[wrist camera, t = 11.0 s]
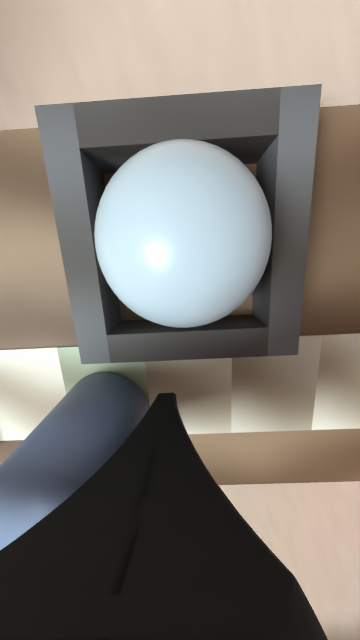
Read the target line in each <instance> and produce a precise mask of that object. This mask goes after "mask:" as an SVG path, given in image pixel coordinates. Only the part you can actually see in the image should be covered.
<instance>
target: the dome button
mask: <svg viewBox="0 0 360 640" xmlns="http://www.w3.org/2000/svg"><path fill="white" fill-rule="evenodd" d="M94 237H95V248H96V253H97V258H98V262H99V265H100V268H101V271H102V273H103V275H104V277H105V279H106V281H107V283H108V284H109V286H110V287H111V289H112V291H113V292H114V293H115V294H116V296H117V297H118V298H119V299H120V300H121V301H122V302H123V303H124V304H125V305H126V306H127V307H128V308H129V309H131V310H132V311H133V312H135V313H136V314H138V315H139V316H141V317H143V318H145V319H147V320H149V321H151V322H154V323H157V324H160V325H164V326H169V327H176V328H189V327H197V326H202V325H206V324H209V323H212V322H214V321H217V320H219V319H221V318H223V317H225V316H227V315H228V314H230V313H231V312H232V311H234V310H235V309H237V308H238V307H239V306H240V305H241V304H242V303H243V302H244V301H245V300H246V299H247V298H248V297H249V296H250V294H251V293H252V292H253V290H254V289H255V287H256V286H257V285H258V283H259V281H260V279H261V277H262V275H263V273H264V271H265V268H266V265H267V263H268V259H269V255H270V250H271V242H272V223H271V216H270V211H269V207H268V203H267V200H266V197H265V195H264V193H263V190H262V188H261V186H260V185H259V183H258V181H257V180H256V178H255V177H254V175H253V174H252V173H251V172H250V170H249V169H248V168H247V167H246V166H245V165H244V164H243V163H242V162H241V161H240V160H239V159H238V158H236V157H235V156H234V155H232V154H231V153H229V152H228V151H226V150H224V149H222V148H220V147H218V146H216V145H213V144H210V143H207V142H204V141H199V140H193V139H175V140H168V141H163V142H160V143H157V144H154V145H151V146H149V147H147V148H145V149H143V150H141V151H139V152H138V153H136V154H135V155H134V156H132V157H131V158H129V159H128V160H127V161H126V162H125V163H124V164H123V165H122V166H121V167H120V168H119V169H118V170H117V172H116V173H115V174H114V175H113V176H112V178H111V180H110V181H109V183H108V184H107V186H106V188H105V190H104V192H103V195H102V197H101V199H100V202H99V206H98V209H97V214H96V220H95V232H94Z"/></svg>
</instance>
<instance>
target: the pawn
mask: <svg viewBox="0 0 360 640" xmlns="http://www.w3.org/2000/svg"><path fill="white" fill-rule="evenodd" d="M148 409H149V404H148V401H147V398H146V396H145V394H144V393H143V391H142V390H141V389H140V387H139V386H138V385H136V384H135V383H134V382H133V381H131V380H130V379H128V378H126V377H124V376H122V375H119V374H116V373H111V372H98V373H93V374H90V375H88V376H86V377H84V378H82V379H81V380H80V381H79V382H77V383H76V385H75V386H74V387H73V388H72V389H71V390H70V391H69V392H68V393H67V394H66V395H65V396H64V397H63V399H62V400H61V401H60V402H59V403H58V404H57V405H56V406H55V407H54V408H53V409H52V410H51V411H50V413H49V414H48V415H47V416H46V417H45V418H44V419H43V420H42V421H41V422H40V423H39V424H38V425H37V427H36V428H35V429H34V430H33V431H32V432H31V433H30V434H29V435H28V436H27V437H26V438H25V440H24V441H23V442H22V443H21V444H20V445H19V446H18V447H17V448H16V449H15V450H14V451H13V452H12V454H11V455H10V456H9V457H8V458H7V459H6V460H5V461H4V462H3V463H2V464H1V465H0V550H1V549H3V548H4V547H6V546H7V545H9V544H10V543H11V542H13V541H14V540H15V539H17V538H18V537H19V536H21V535H22V534H23V533H25V532H26V531H27V530H29V529H30V528H31V527H32V526H34V525H35V524H36V523H38V522H39V521H40V520H41V519H43V518H44V517H45V516H47V515H48V514H49V513H50V512H51V511H53V510H54V509H55V508H56V507H58V506H59V505H60V504H61V503H62V502H64V501H65V500H66V499H67V498H68V497H69V496H71V495H72V494H73V493H74V492H75V491H76V490H77V489H78V488H79V487H80V486H82V485H83V484H84V483H85V482H86V481H87V480H88V479H89V478H90V477H91V476H92V475H93V474H95V473H96V472H97V471H98V470H99V469H100V468H101V467H102V466H103V464H104V463H105V462H106V461H107V460H108V459H109V458H110V457H111V456H112V455H113V454H114V453H115V452H116V451H117V449H118V448H119V447H120V446H121V445H122V444H123V442H124V441H125V440H126V439H127V437H128V436H129V435H130V434H131V433H132V431H133V430H134V429H135V427H136V426H137V425H138V423H139V422H140V421H141V419H142V418H143V416H144V415H145V414H146V412H147V411H148Z"/></svg>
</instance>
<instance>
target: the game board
mask: <svg viewBox="0 0 360 640" xmlns="http://www.w3.org/2000/svg"><path fill="white" fill-rule="evenodd" d="M321 86H322V84H317V85H304V86H290V87H277V88H264V89H251V90H237V91H224V92H211V93H198V94H184V95H171V96H158V97H145V98H131V99H118V100H105V101H92V102H78V103H65V104H52V105H39V106H35V111H36V117H37V122H38V128H31V129H17V130H3V131H0V465H1V464H2V463H3V462H4V461H5V460H6V459H7V458H8V457H9V456H10V455H11V454H12V452H13V451H14V450H15V449H16V448H17V447H18V446H19V445H20V444H21V443H22V442H23V441H24V440H25V438H26V437H27V436H28V435H29V434H30V433H31V432H32V431H33V430H34V429H35V428H36V427H37V425H38V424H39V423H40V422H41V421H42V420H43V419H44V418H45V417H46V416H47V415H48V414H49V413H50V411H51V410H52V409H53V408H54V407H55V406H56V405H57V404H58V403H59V402H60V401H61V400H62V399H63V397H64V396H65V395H66V394H67V393H68V392H69V391H70V390H71V389H72V388H73V387H74V386H75V385H76V383H77V382H79V381H80V380H81V379H82V378H84V377H86V376H88V375H90V374H93V373H98V372H111V373H116V374H119V375H122V376H124V377H126V378H128V379H130V380H131V381H133V382H134V383H135V384H136V385H138V386H139V387H140V389H141V390H142V391H143V393H144V394H145V396H146V398H147V401H148V404H149V408H150V406H151V405H152V403H153V401H154V400H155V398H156V397H157V395H158V394H159V393H174V394H176V399H177V407H178V410H179V414H180V416H181V419H182V422H183V424H184V426H185V429H186V431H187V433H188V436H189V438H190V440H191V441H192V443H193V445H194V447H195V449H196V451H197V453H198V455H199V456H200V458H201V460H202V461H203V463H204V465H205V466H206V468H207V469H208V471H209V472H210V474H211V475H212V477H213V479H214V480H215V482H216V483H217V484H218V485H237V484H273V483H309V482H344V481H360V105H347V106H334V107H320V98H321ZM175 139H193V140H199V141H204V142H207V143H210V144H213V145H216V146H218V147H220V148H222V149H224V150H226V151H228V152H229V153H231V154H232V155H234V156H235V157H236V158H238V159H239V160H240V161H241V162H242V163H243V164H244V165H245V166H246V167H247V168H248V169H249V170H250V172H251V173H252V174H253V175H254V177H255V178H256V180H257V181H258V183H259V185H260V186H261V188H262V190H263V193H264V195H265V197H266V200H267V203H268V207H269V211H270V216H271V223H272V242H271V250H270V255H269V259H268V263H267V265H266V268H265V271H264V273H263V275H262V277H261V279H260V281H259V283H258V285H257V286H256V287H255V289H254V290H253V292H252V293H251V294H250V296H249V297H248V298H247V299H246V300H245V301H244V302H243V303H242V304H241V305H240V306H239V307H238V308H237V309H235V310H234V311H232V312H231V313H230V314H228V315H227V316H225V317H223V318H221V319H219V320H217V321H214V322H212V323H209V324H206V325H202V326H197V327H189V328H176V327H169V326H164V325H160V324H157V323H154V322H151V321H149V320H147V319H145V318H143V317H141V316H139V315H138V314H136V313H135V312H133V311H132V310H131V309H129V308H128V307H127V306H126V305H125V304H124V303H123V302H122V301H121V300H120V299H119V298H118V297H117V296H116V294H115V293H114V292H113V291H112V289H111V287H110V286H109V284H108V283H107V281H106V279H105V277H104V275H103V273H102V271H101V268H100V265H99V262H98V258H97V253H96V248H95V237H94V232H95V220H96V214H97V209H98V206H99V202H100V199H101V197H102V195H103V192H104V190H105V188H106V186H107V184H108V183H109V181H110V180H111V178H112V176H113V175H114V174H115V173H116V172H117V170H118V169H119V168H120V167H121V166H122V165H123V164H124V163H125V162H126V161H127V160H128V159H129V158H131V157H132V156H134V155H135V154H136V153H138V152H139V151H141V150H143V149H145V148H147V147H149V146H151V145H154V144H157V143H160V142H163V141H168V140H175Z"/></svg>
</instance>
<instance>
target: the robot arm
mask: <svg viewBox="0 0 360 640" xmlns="http://www.w3.org/2000/svg"><path fill="white" fill-rule="evenodd" d="M0 640H328V639H327V637H326V635H325V633H324V631H323V629H322V627H321V625H320V623H319V621H318V619H317V617H316V615H315V613H314V611H313V609H312V607H311V605H310V603H309V602H308V600H307V598H306V596H305V594H304V592H303V591H302V589H301V587H300V585H299V583H298V582H297V580H296V578H295V577H294V575H293V574H292V573H291V572H290V571H289V570H288V569H287V568H286V567H285V565H284V564H283V563H282V562H281V561H280V560H279V559H278V558H277V557H276V556H275V555H274V554H273V552H272V551H271V550H270V549H269V548H268V547H267V546H266V544H265V543H264V542H263V541H262V540H261V539H260V538H259V536H258V535H257V534H256V533H255V532H254V531H253V529H252V528H251V527H250V526H249V525H248V523H247V522H246V521H245V520H244V519H243V517H242V516H241V515H240V514H239V512H238V511H237V510H236V509H235V507H234V506H233V504H232V503H231V502H230V500H229V499H228V498H227V496H226V495H225V494H224V492H223V491H222V490H221V488H220V487H219V486H218V484H217V483H216V482H215V480H214V479H213V477H212V475H211V474H210V472H209V471H208V469H207V468H206V466H205V465H204V463H203V461H202V460H201V458H200V456H199V455H198V453H197V451H196V449H195V447H194V445H193V443H192V441H191V440H190V438H189V436H188V433H187V431H186V429H185V426H184V424H183V422H182V419H181V416H180V414H179V410H178V407H177V399H176V394H174V393H159V394H158V395H157V397H156V398H155V400H154V401H153V403H152V405H151V406H150V408H149V409H148V411H147V412H146V414H145V415H144V416H143V418H142V419H141V421H140V422H139V423H138V425H137V426H136V427H135V429H134V430H133V431H132V433H131V434H130V435H129V436H128V437H127V439H126V440H125V441H124V442H123V444H122V445H121V446H120V447H119V448H118V449H117V451H116V452H115V453H114V454H113V455H112V456H111V457H110V458H109V459H108V460H107V461H106V462H105V463H104V464H103V466H102V467H101V468H100V469H99V470H98V471H97V472H96V473H95V474H93V475H92V476H91V477H90V478H89V479H88V480H87V481H86V482H85V483H84V484H83V485H82V486H80V487H79V488H78V489H77V490H76V491H75V492H74V493H73V494H72V495H71V496H69V497H68V498H67V499H66V500H65V501H64V502H62V503H61V504H60V505H59V506H58V507H56V508H55V509H54V510H53V511H51V512H50V513H49V514H48V515H47V516H45V517H44V518H43V519H41V520H40V521H39V522H38V523H36V524H35V525H34V526H32V527H31V528H30V529H29V530H27V531H26V532H25V533H23V534H22V535H21V536H19V537H18V538H17V539H15V540H14V541H13V542H11V543H10V544H9V545H7V546H6V547H4V548H3V549H1V550H0Z"/></svg>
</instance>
